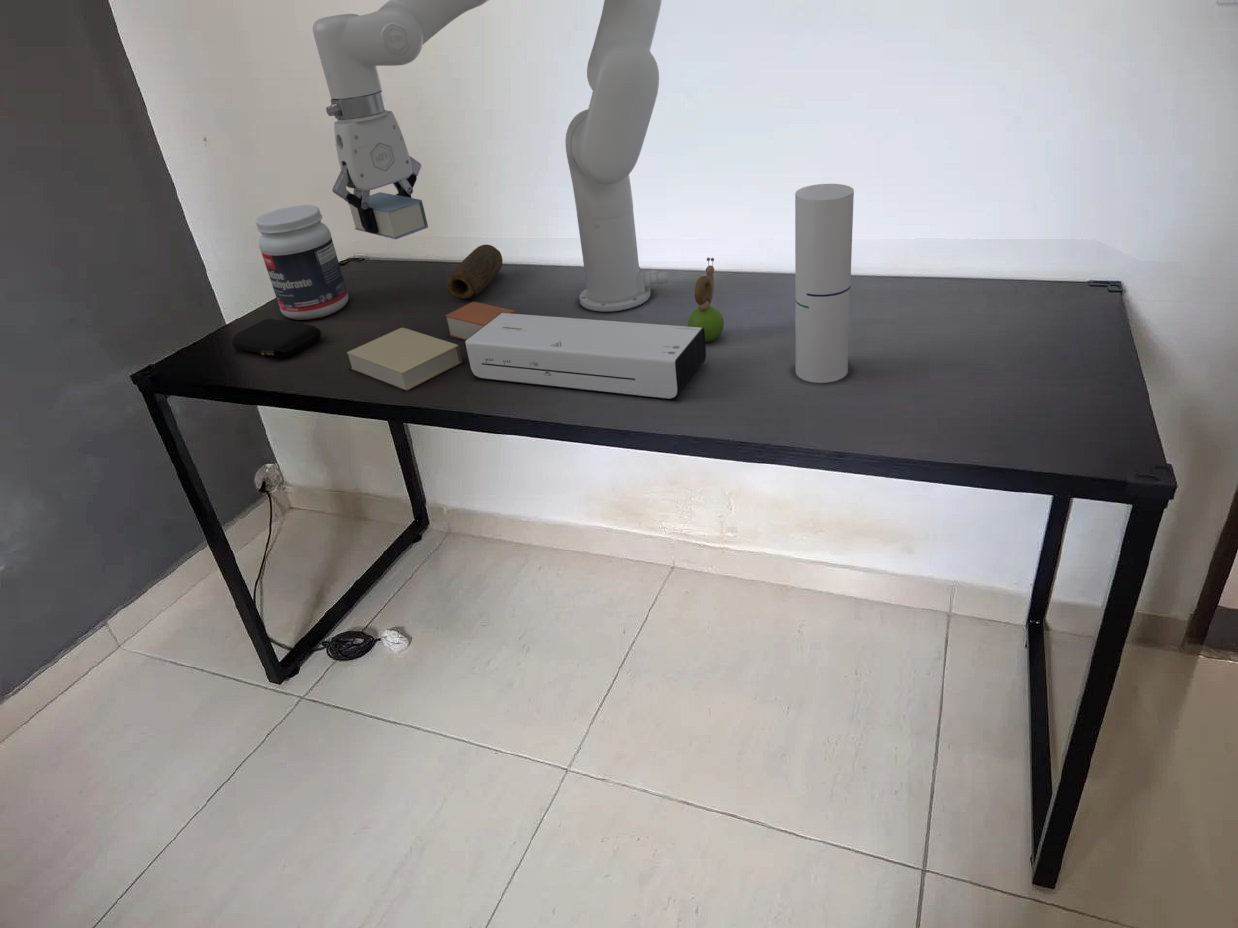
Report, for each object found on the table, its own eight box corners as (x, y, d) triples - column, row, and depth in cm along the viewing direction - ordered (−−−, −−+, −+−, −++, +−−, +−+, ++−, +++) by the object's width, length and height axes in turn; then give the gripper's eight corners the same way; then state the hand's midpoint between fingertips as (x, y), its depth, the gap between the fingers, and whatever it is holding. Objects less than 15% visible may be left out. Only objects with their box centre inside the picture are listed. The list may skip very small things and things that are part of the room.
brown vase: (474, 275, 173) (467, 242, 170) (507, 273, 171) (501, 240, 168) (447, 304, 161) (439, 269, 157) (482, 303, 159) (475, 268, 156)
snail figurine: (731, 331, 136) (728, 257, 130) (717, 348, 132) (713, 273, 125) (698, 329, 139) (694, 256, 132) (684, 345, 134) (678, 271, 128)
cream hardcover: (462, 362, 138) (458, 345, 136) (406, 390, 131) (402, 372, 130) (406, 343, 147) (402, 327, 145) (351, 369, 140) (346, 352, 139)
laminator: (471, 378, 132) (463, 341, 129) (511, 344, 142) (505, 309, 138) (679, 401, 119) (676, 360, 116) (709, 362, 128) (707, 323, 125)
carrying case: (224, 354, 152) (282, 365, 145) (218, 338, 150) (276, 348, 143) (271, 330, 159) (328, 339, 153) (266, 314, 158) (323, 323, 151)
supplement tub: (270, 324, 162) (236, 227, 152) (302, 298, 173) (273, 206, 163) (332, 322, 160) (302, 223, 150) (362, 295, 170) (335, 201, 160)
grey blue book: (428, 227, 138) (421, 199, 135) (395, 239, 134) (388, 211, 132) (387, 218, 145) (380, 192, 143) (355, 229, 142) (347, 202, 139)
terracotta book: (518, 331, 146) (514, 310, 144) (490, 346, 142) (486, 325, 140) (478, 321, 152) (473, 301, 150) (450, 336, 148) (445, 315, 146)
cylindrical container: (837, 386, 118) (842, 201, 104) (787, 378, 121) (786, 198, 108) (854, 364, 122) (861, 185, 109) (806, 356, 126) (807, 182, 113)
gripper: (321, 122, 123) (356, 245, 132) (421, 96, 132) (447, 213, 142) (296, 119, 127) (331, 239, 137) (394, 94, 137) (421, 207, 147)
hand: (390, 224), depth 139 cm, fingers closed on grey blue book, 6 cm apart
